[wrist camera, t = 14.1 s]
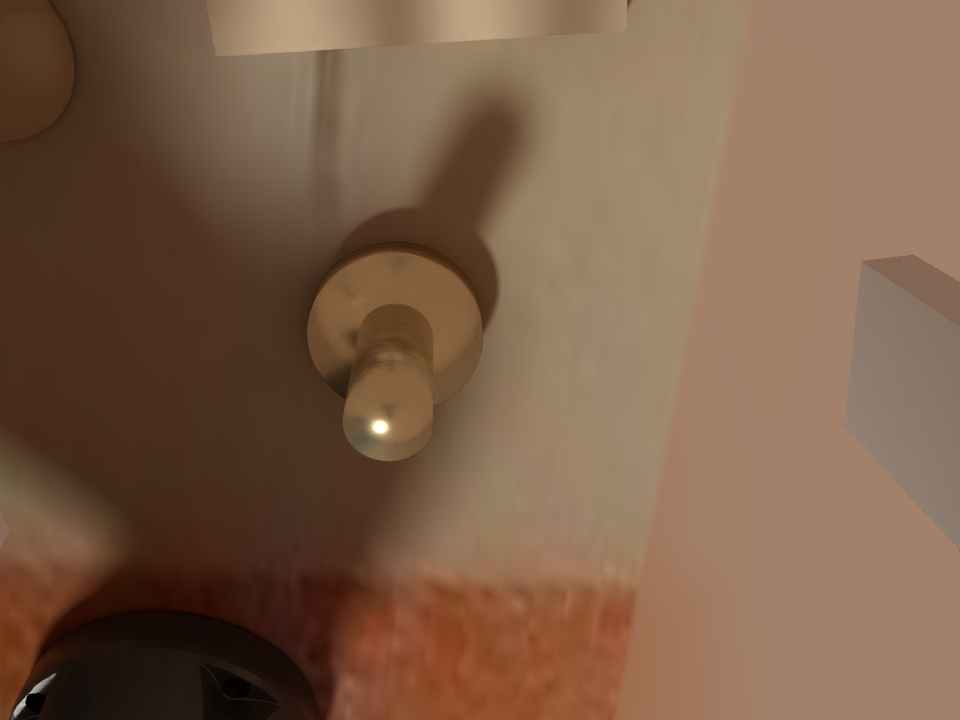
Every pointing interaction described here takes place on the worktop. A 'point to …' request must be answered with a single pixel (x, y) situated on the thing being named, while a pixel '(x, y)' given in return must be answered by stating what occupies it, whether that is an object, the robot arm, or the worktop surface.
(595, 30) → the hub base
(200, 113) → the worktop surface
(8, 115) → the beer glass
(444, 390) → the stand
